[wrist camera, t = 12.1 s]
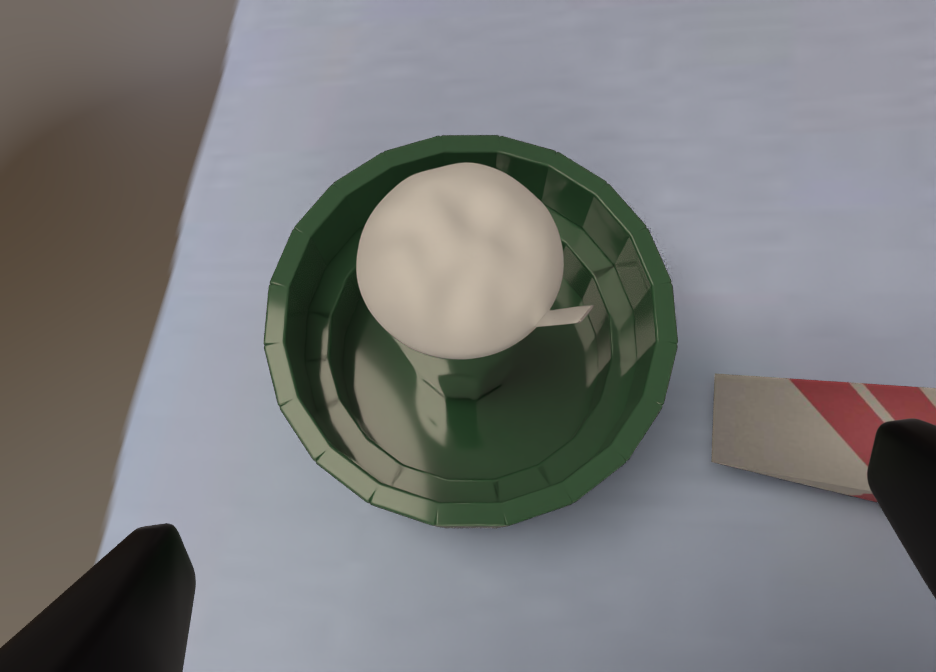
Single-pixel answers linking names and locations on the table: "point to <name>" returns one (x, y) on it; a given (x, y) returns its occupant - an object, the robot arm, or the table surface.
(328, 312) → the bowl
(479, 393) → the milkshake
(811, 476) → the paintbrush
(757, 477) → the table surface
